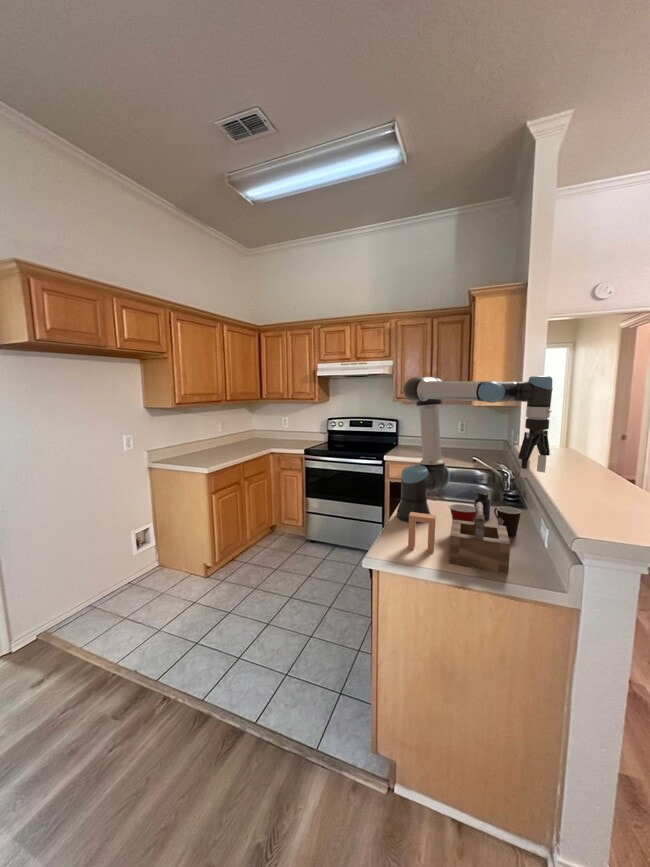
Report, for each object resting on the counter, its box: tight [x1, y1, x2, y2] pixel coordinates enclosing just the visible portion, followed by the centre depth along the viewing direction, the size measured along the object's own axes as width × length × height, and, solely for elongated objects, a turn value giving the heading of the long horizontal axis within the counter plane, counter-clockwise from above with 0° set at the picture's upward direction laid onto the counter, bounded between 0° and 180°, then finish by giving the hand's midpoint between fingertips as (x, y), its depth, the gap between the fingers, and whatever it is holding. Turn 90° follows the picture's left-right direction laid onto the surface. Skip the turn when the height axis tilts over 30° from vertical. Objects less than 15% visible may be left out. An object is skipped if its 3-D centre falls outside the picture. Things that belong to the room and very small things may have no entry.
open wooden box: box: [448, 502, 511, 574], centre depth 123 cm, size 16×18×18 cm
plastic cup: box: [448, 503, 476, 522], centre depth 143 cm, size 11×11×12 cm
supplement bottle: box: [473, 490, 491, 521], centre depth 162 cm, size 7×7×12 cm
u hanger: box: [407, 512, 436, 554], centre depth 131 cm, size 4×9×13 cm, turn 68°
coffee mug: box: [493, 506, 522, 538], centre depth 146 cm, size 12×9×10 cm
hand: (532, 474), depth 133 cm, fingers open, 13 cm apart
